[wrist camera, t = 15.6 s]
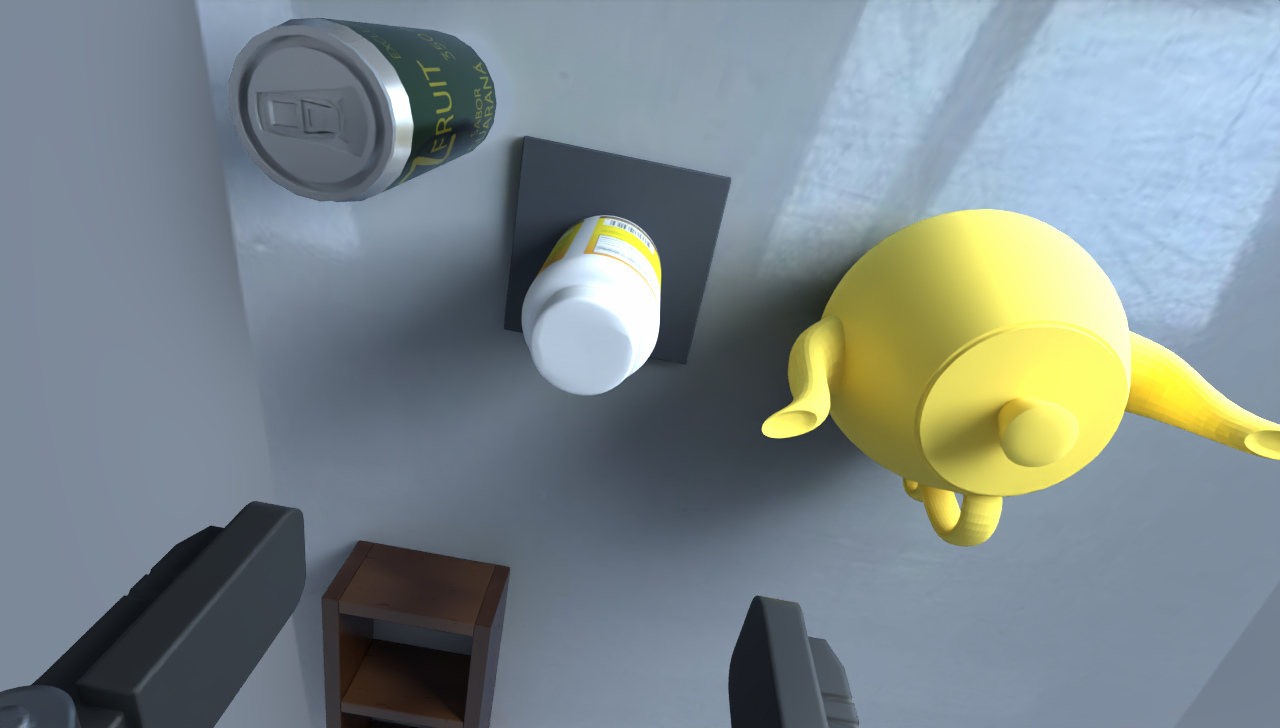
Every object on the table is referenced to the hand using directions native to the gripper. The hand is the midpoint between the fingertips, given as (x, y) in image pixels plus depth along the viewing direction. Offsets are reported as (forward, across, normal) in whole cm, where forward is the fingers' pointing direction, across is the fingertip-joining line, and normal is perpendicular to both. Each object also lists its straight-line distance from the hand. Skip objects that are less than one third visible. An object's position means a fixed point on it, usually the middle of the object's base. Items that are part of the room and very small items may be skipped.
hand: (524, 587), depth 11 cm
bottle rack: (+23, +8, +32) cm, 41 cm away
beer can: (+24, +10, -5) cm, 26 cm away
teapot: (+24, -17, +2) cm, 29 cm away
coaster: (+23, 0, +1) cm, 23 cm away
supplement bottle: (+23, 0, +1) cm, 23 cm away
